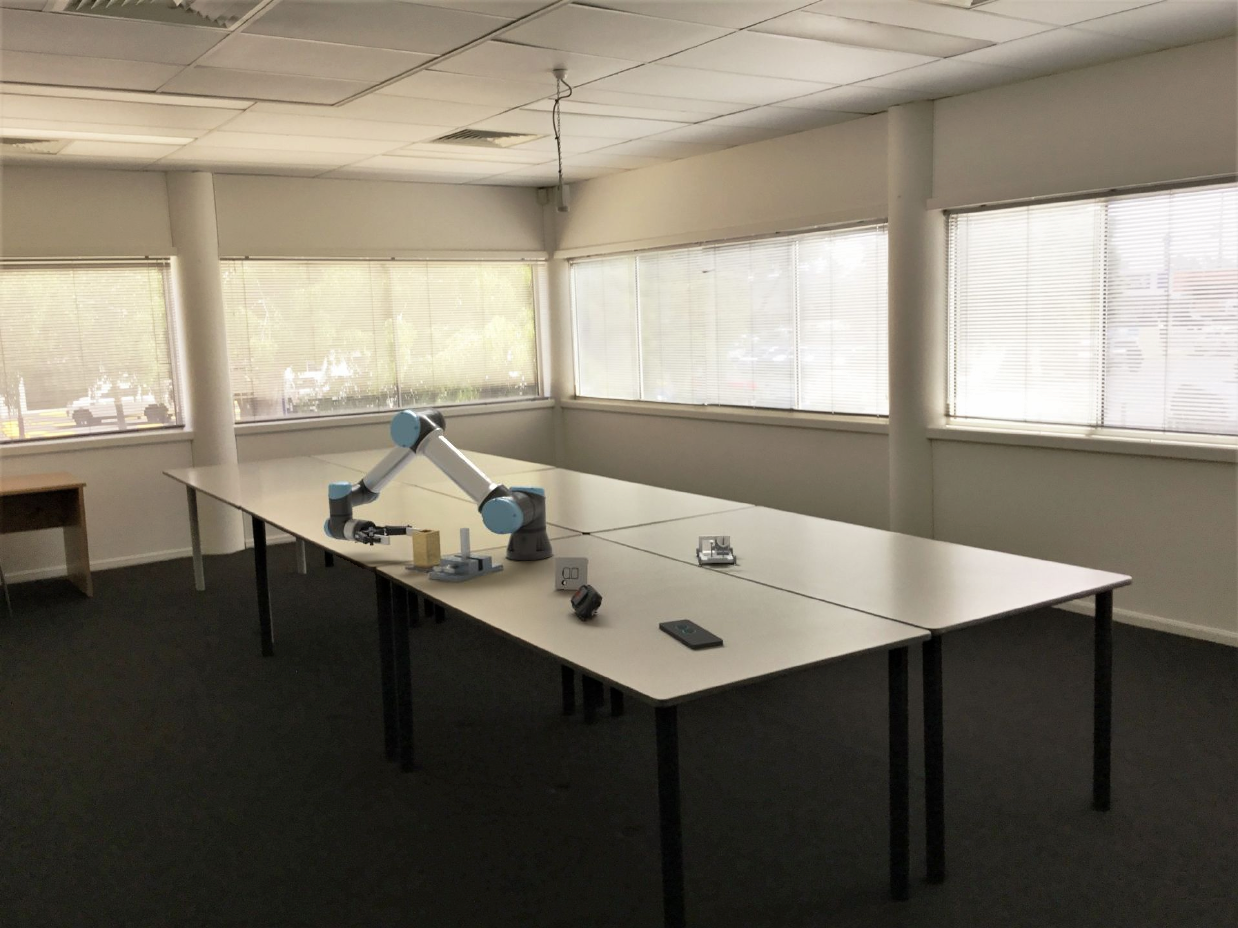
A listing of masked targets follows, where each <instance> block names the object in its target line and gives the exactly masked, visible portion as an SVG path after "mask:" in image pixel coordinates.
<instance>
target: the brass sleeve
mask: <svg viewBox="0 0 1238 928" xmlns="http://www.w3.org/2000/svg"><path fill="white" fill-rule="evenodd" d="M411 538H412V554H413V555H412V558H413V565H414V566H415V567H421V568H431V567H434V566H438V565H440V559H441V558H442V555H441V553H442V552H441V551H442V550H441V533H440V530H439V529H430V528H429V529H428V528H423V529H422V530H419V531H415V532H412V537H411Z"/></svg>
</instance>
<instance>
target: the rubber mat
mask: <svg viewBox="0 0 1238 928" xmlns="http://www.w3.org/2000/svg"><path fill="white" fill-rule="evenodd" d="M438 566H439V567H441V565H438ZM404 569H405V570H410V571H415V570H417V571H416V572H422V573H431V572H435V570H433V567H431V568H421V567H415V566H414V564H411V565H407V566H404Z"/></svg>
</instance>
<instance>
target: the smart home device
mask: <svg viewBox="0 0 1238 928" xmlns="http://www.w3.org/2000/svg"><path fill="white" fill-rule="evenodd" d="M658 628H659V629H660V630H661V631H663V632H664V633H666V634H667V635H669V636H670V637H672V638H673V639H675V640H676V641H678V642H679V643H682V644H683V645H684V646H686V647H687V648H689V649H691V650H694V651H695V650H696V651H697V650H702V649H707V648H708V649H709V648H715V647H721V646H723V645H724V639H723V638H721V637H719V636H717V635H716V634H714V633H712V632H710V631H709V630H707V629H705V628H703V627H702V626H700V625H698V624H697V623H695V622H693V621H692V620H690V619H685V618H684V619H679V620H671V621H665V622H664V621H663V622H659V623H658Z"/></svg>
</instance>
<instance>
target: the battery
mask: <svg viewBox="0 0 1238 928" xmlns="http://www.w3.org/2000/svg"><path fill="white" fill-rule="evenodd" d="M569 601H570V603H571V608H572V609H573V610H574V611H575V613H576V614H577V615H578V617H580V618H581V619H582V620H584V621H586V620H590V619H591V618H593V616H594V615H595V614H598V612H597V611H598V609H600V607H601V606H602V601H603V596H602V595H601V594H600V593H599V592H598V591H597V590H596V589H595V587H593V586H592V585H590V584H587V586H586V585H582V586H581V587H580V588H579V589H578V590H576V592H575V593H574V594H573V595H572V597H571V599H570V600H569Z"/></svg>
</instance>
